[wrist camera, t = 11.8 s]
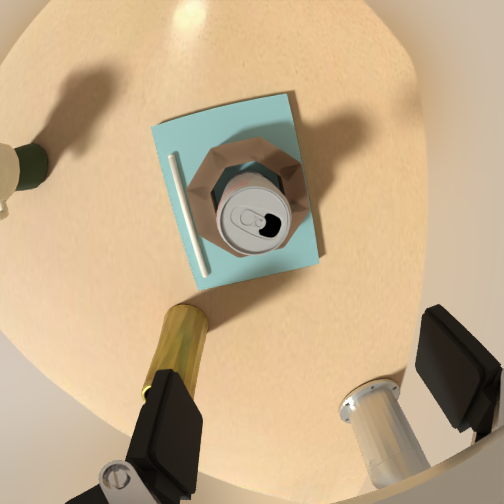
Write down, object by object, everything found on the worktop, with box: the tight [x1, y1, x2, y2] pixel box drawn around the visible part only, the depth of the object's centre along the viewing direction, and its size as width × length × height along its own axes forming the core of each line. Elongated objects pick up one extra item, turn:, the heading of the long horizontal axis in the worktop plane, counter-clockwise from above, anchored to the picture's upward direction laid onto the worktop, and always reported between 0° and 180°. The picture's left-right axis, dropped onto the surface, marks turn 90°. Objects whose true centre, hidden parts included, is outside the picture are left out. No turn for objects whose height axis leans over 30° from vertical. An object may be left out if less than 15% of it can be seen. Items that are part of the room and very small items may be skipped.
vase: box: [142, 304, 208, 402], centre depth 31 cm, size 6×6×14 cm
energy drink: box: [216, 170, 292, 256], centre depth 25 cm, size 5×5×12 cm
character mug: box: [0, 143, 48, 220], centre depth 22 cm, size 11×7×13 cm, turn 16°
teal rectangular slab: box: [151, 94, 319, 291], centre depth 31 cm, size 20×15×2 cm
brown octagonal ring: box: [186, 137, 310, 258], centre depth 29 cm, size 11×11×4 cm
